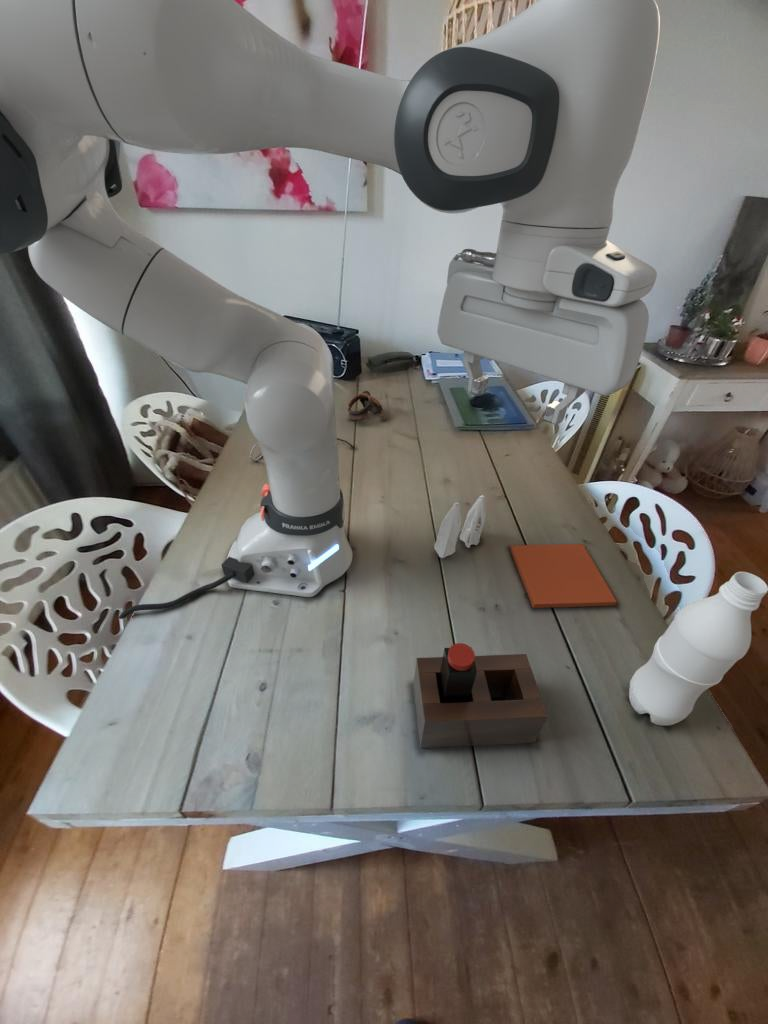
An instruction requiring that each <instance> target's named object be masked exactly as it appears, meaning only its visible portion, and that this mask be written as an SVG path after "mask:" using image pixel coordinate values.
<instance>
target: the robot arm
mask: <svg viewBox="0 0 768 1024" xmlns="http://www.w3.org/2000/svg"><path fill="white" fill-rule="evenodd" d="M660 28H661V17H660V10H659V6H658V4H657V2H656V0H536V1H535V2H533V3H532V4H531V5H530V6H528V7H527V8H525V9H524V10H523V11H521V12H520V13H518V14H516V15H515V16H514V17H512V18H511V19H509V20H508V21H506V22H505V23H503V24H501V25H500V26H498V27H496V28H494V29H493V30H489V31H488V32H486V33H484V34H482V35H480V36H477V37H475V38H472V39H470V40H467V41H465V42H462V43H460V44H457V45H454V46H451V47H449V48H447V49H444V50H442V51H440V52H438V53H437V54H435V55H433V56H432V57H431V58H429V59H428V60H427V61H426V62H425V63H424V64H423V65H422V66H421V67H420V68H419V69H418V70H417V71H416V72H415V73H414V75H413V76H412V77H411V79H410V80H406V79H405V80H404V79H398V78H394V77H392V76H388V75H384V74H381V73H376V72H373V71H369V70H366V69H362V68H359V67H355V66H351V65H348V64H345V63H341V62H338V61H334V60H330V59H327V58H324V57H321V56H318V55H316V54H313V53H311V52H309V51H308V50H305V49H303V48H301V47H299V46H298V45H296V44H294V43H292V42H291V41H289V40H288V39H286V38H285V37H283V36H282V35H280V34H279V33H277V32H276V31H274V30H273V29H272V28H270V27H269V26H267V24H265V23H264V22H263V21H261V20H260V19H258V18H257V17H256V16H255V15H253V14H252V13H251V12H250V11H249V10H247V9H246V7H243V6H242V5H241V4H240V3H239V2H237V1H236V0H0V254H1V255H2V254H4V255H5V254H9V253H14V252H18V251H20V250H23V249H25V248H27V250H28V251H27V252H28V257H29V260H30V263H31V266H32V268H33V269H34V271H35V272H36V274H37V276H38V277H39V278H40V279H41V280H42V281H43V282H44V283H45V284H46V285H48V286H49V287H51V288H52V289H53V290H54V291H55V292H56V293H58V294H59V295H61V296H62V297H63V298H65V299H66V300H67V301H69V302H70V303H72V304H73V305H74V306H75V307H77V308H79V309H80V310H81V311H83V312H85V313H86V314H87V315H89V316H90V317H92V318H93V319H95V320H97V321H98V322H100V323H102V324H103V325H104V326H107V328H109V329H111V330H113V331H115V332H116V333H118V334H119V335H122V336H124V337H125V338H127V339H129V340H131V341H132V342H135V343H136V344H138V345H139V346H141V347H142V346H143V347H144V348H145V349H147V350H149V351H151V352H153V353H154V354H156V355H158V356H159V357H162V358H164V359H166V360H167V361H169V362H171V363H173V364H174V365H176V366H178V367H180V368H181V369H184V370H186V371H189V372H192V373H196V374H198V373H199V374H200V373H201V374H203V373H207V374H213V375H218V376H222V377H225V378H227V379H232V380H234V381H238V382H241V383H243V384H245V385H246V386H245V389H244V409H245V415H246V416H245V417H246V422H247V425H248V428H249V431H250V432H251V434H252V435H253V436H254V438H255V439H256V441H257V443H258V446H259V449H260V452H261V455H262V454H263V456H262V457H263V460H264V462H265V463H264V465H265V468H266V469H265V470H266V475H267V478H268V479H267V480H268V483H265V484H263V486H262V489H261V490H262V491H261V492H260V494H261V495H260V496H261V497H262V498H261V500H260V510H259V511H258V512H256V513H254V514H253V515H251V516H250V517H248V518H247V519H246V520H245V521H244V523H243V524H242V525H241V528H240V530H239V532H238V535H237V537H236V539H235V540H234V541H233V543H232V544H231V547H230V548H229V551H228V554H227V557H226V559H225V560H224V561H223V562H222V563H221V569H222V572H223V575H224V576H223V577H221V578H219V579H218V580H216V581H213V582H211V583H208V584H205V585H203V586H201V587H198V588H196V589H194V590H191V591H190V592H188V593H185V594H184V595H182V596H180V597H178V598H176V599H174V600H171V601H168V602H167V601H166V602H162V603H143V604H135V605H132V606H130V607H127V608H126V609H124V610H123V611H122V612H121V613H120V614H119V616H118V619H119V620H122V619H125V618H126V617H127V616H129V615H130V614H132V613H134V612H140V611H153V610H156V611H157V610H166V609H169V608H173V607H176V606H178V605H181V604H183V603H184V602H186V601H188V600H190V599H192V598H194V597H197V596H198V595H200V594H202V593H204V592H206V591H209V590H212V589H215V588H217V587H219V586H221V585H223V584H225V583H228V584H227V585H229V587H230V588H233V589H240V590H247V591H248V590H249V591H256V592H263V593H272V594H281V595H287V596H288V595H289V596H296V597H302V598H303V597H304V598H313V597H315V596H316V595H317V594H318V593H320V592H321V590H322V589H323V588H324V587H326V586H327V585H328V584H330V583H333V582H335V581H336V580H338V579H339V578H340V577H342V576H343V575H344V574H345V573H346V572H347V571H348V569H349V568H350V566H351V565H352V562H353V550H352V547H351V545H350V542H349V540H348V537H347V534H346V530H345V525H344V523H345V520H346V519H345V515H346V514H345V499H344V494H343V490H342V489H341V480H340V465H339V463H340V462H339V448H338V440H337V438H338V435H337V434H338V433H337V418H336V417H337V416H336V396H335V395H336V394H335V393H336V392H335V376H334V374H335V373H334V358H333V355H332V353H331V350H330V348H329V346H328V345H327V342H326V341H325V339H324V338H323V337H322V335H321V334H320V333H319V332H318V331H316V329H314V328H313V327H311V326H309V325H307V324H304V323H301V322H296V321H293V320H291V319H290V318H287V317H286V316H283V315H281V314H280V313H278V312H275V311H273V310H271V309H269V308H267V307H264V306H262V305H261V304H258V303H256V302H253V301H251V300H249V299H247V298H245V297H243V296H241V295H239V294H237V293H236V292H234V291H232V290H230V289H228V288H227V287H225V286H223V285H222V284H221V283H218V281H215V280H214V279H213V278H211V277H210V276H208V275H206V274H205V273H203V272H202V271H200V270H199V269H197V268H196V267H194V266H193V265H191V264H189V263H188V262H186V261H184V260H183V259H182V258H181V257H178V256H177V255H176V254H174V253H172V252H171V251H169V250H168V249H166V248H165V247H164V246H161V245H160V244H158V243H157V242H155V241H154V240H153V239H151V238H149V237H147V236H146V235H145V234H143V233H141V232H140V231H138V230H136V229H135V228H134V227H132V226H131V225H129V224H128V223H127V222H126V221H125V220H124V219H123V218H122V217H121V216H120V215H119V214H118V213H117V211H116V210H115V208H114V206H113V204H112V203H111V200H110V198H113V197H115V196H117V195H118V194H120V193H121V192H122V189H123V177H122V172H121V171H122V170H121V167H120V154H121V143H123V144H126V145H130V146H133V147H138V148H142V149H147V150H151V151H156V152H163V153H170V154H179V155H180V154H181V155H203V156H204V155H225V154H235V153H244V152H251V151H252V152H253V151H259V150H268V149H269V150H270V149H282V148H283V149H286V148H289V149H290V148H291V149H292V148H294V149H306V150H314V151H319V152H323V153H327V154H332V155H335V156H339V157H343V158H348V159H352V160H355V161H360V162H364V163H369V164H373V165H377V166H381V167H383V168H387V169H389V170H391V171H393V172H395V173H397V174H399V175H401V177H402V178H403V181H404V183H405V184H406V186H407V187H408V189H409V190H410V191H411V193H412V194H413V195H414V196H415V198H417V199H418V200H419V201H420V202H421V203H422V204H424V205H425V206H426V207H428V208H430V209H432V210H434V211H436V212H439V213H445V214H451V215H452V214H455V215H456V214H463V213H464V214H465V213H467V212H470V211H473V210H476V209H478V208H481V207H487V206H492V205H493V206H494V205H497V204H500V205H501V207H502V216H501V222H500V228H499V234H498V240H497V245H496V246H497V247H496V252H492V251H479V250H476V249H473V248H464V249H463V250H461V252H459V253H456V255H454V256H453V258H452V259H451V260H450V262H449V264H448V269H447V278H446V288H445V290H444V295H443V298H442V302H441V308H440V311H439V316H438V317H439V318H438V323H437V336H438V338H439V340H440V343H441V344H442V345H444V346H447V347H449V348H453V349H455V350H459V351H462V352H463V354H462V355H463V356H462V363H463V366H464V369H465V371H466V375H467V378H468V385H467V392H468V393H469V394H473V395H475V396H479V397H481V395H485V394H486V392H487V391H488V384H489V380H490V377H489V376H486V375H484V372H483V368H482V364H481V360H483V359H488V360H491V361H494V362H497V363H500V364H503V365H507V366H509V367H513V368H516V369H518V370H522V371H525V372H529V373H531V374H534V375H537V376H541V377H543V378H547V379H550V380H553V381H556V382H560V383H563V387H562V391H561V393H562V394H563V395H566V396H565V397H564V398H563V399H562V400H561V401H558V400H554V401H552V402H551V403H548V404H547V405H546V407H545V410H544V415H543V417H542V420H543V421H544V422H546V423H549V424H552V425H554V426H558V425H560V424H561V423H562V422H563V420H564V419H565V417H566V414H567V410H568V407H569V406H571V405H572V404H573V403H574V402H575V401H576V400H577V399H579V398H580V397H581V396H582V395H583V394H585V392H586V391H588V392H591V393H594V394H597V395H600V396H602V397H603V396H604V397H608V396H611V395H613V394H615V393H617V392H619V391H620V390H622V389H623V388H625V387H626V386H627V385H629V383H630V382H631V381H632V379H633V377H634V376H635V373H636V371H637V368H638V365H639V362H640V359H641V356H642V352H643V348H644V345H645V341H646V337H647V332H648V327H649V320H650V318H649V317H650V315H649V314H650V313H649V310H648V307H647V305H646V304H645V302H644V301H643V300H642V299H643V298H644V297H645V296H647V295H648V294H649V293H650V292H651V291H652V290H653V287H654V285H655V283H656V280H657V276H658V272H657V270H656V269H655V267H653V266H652V265H651V264H649V263H647V262H645V261H643V260H641V259H639V258H638V257H636V256H634V255H632V254H630V253H629V252H627V251H625V250H623V248H620V247H619V246H617V245H615V244H614V243H612V242H610V241H609V240H608V236H609V233H610V229H611V226H612V224H613V223H612V222H613V216H614V212H613V211H614V199H615V196H616V190H617V187H618V184H619V182H620V179H621V177H622V175H623V173H624V171H626V168H627V167H628V164H629V163H630V160H631V158H632V155H633V151H634V148H635V145H636V141H637V138H638V134H639V131H640V128H641V123H642V119H643V116H644V112H645V108H646V103H647V99H648V96H649V92H650V88H651V83H652V79H653V74H654V70H655V69H654V68H655V65H656V58H657V53H658V49H659V40H660V39H659V38H660V30H661V29H660Z"/></svg>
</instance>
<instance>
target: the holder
mask: <svg viewBox="0 0 768 1024" xmlns="http://www.w3.org/2000/svg"><path fill="white" fill-rule="evenodd" d="M442 659H443V656H433V657H432V656H431V657H429V656H428V657H417V658H416V660H415V668H414V676H413V686H412V687H413V693H414V695H413V696H414V705H415V715H416V722H417V731H418V739H419V748H420V749H432V748H433V749H434V748H436V749H437V748H454V747H475V746H476V747H477V746H494V745H495V746H496V745H497V746H498V745H515V744H516V745H517V744H518V745H519V744H535V742H536V740H537V738H538V736H539V734H540V733H541V730H542V729H543V726H544V725H545V723H546V721H547V719H548V717H549V716H548V713H547V710H546V707H545V704H544V700H543V698H542V696H541V693H540V690H539V686H538V683H537V681H536V678H535V675H534V672H533V670H532V666H531V663H530V661H529V658H528V655H527V654H526V653H513V654H488V655H486V654H485V655H475V659H474V661H475V665H476V669H477V673H476V677H475V681H474V684H473V688H472V691H471V695H470V698H469V702H459V703H440V697H439V691H438V681H439V675H440V670H441V664H442ZM492 698H504V700H492Z"/></svg>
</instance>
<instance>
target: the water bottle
mask: <svg viewBox="0 0 768 1024" xmlns="http://www.w3.org/2000/svg"><path fill="white" fill-rule="evenodd" d="M767 593H768V584H767V583H766V582H765V581H764V580H763V579H762V578H761V577H760V576H758V575H755V574H753V573H750V572H747V571H737V572H735V573H734V574H733V575H732V576H731V577H730V579H729V580H728V581H725V583H723V584H721V585H720V586H719V589H718V592H717V593H716V594H713V595H711V596H707V597H704V598H701V599H697V600H693V601H692V602H690V603H688V604H686V605H684V606H683V607H681V608H680V609H679V610H678V611H677V612H676V614H675V616H674V619H673V620H672V621H671V623H670V624H669V626H668V627H667V629H666V630H665V631H664V632H663V634H662V635H661V636H660V637H659V638H658V639H657V640H656V642H655V644H654V647H653V649H652V650H653V651H652V654H651V656H650V658H649V660H648V661H646V663H645V664H643V665H642V666H640V667H638V668H637V669H636V671H635V672H634V673H633V675H632V676H631V678H630V680H629V690H628V698H629V703H630V705H631V707H632V709H633V710H634V711H635V712H636V713H637V714H639V715H644V714H648V715H649V718H650V723H652V724H655V725H657V726H672V725H675V724H678V723H680V722H681V721H683V720H685V719H686V718H687V717H688V716H689V715H690V714H691V713H692V712H693V710H694V707H695V704H696V702H697V701H698V699H699V697H701V695H702V694H703V693H704V692H705V691H707V690H708V689H710V688H711V687H714V686H716V685H718V684H719V683H720V682H721V681H722V680H723V678H724V676H725V674H727V673H728V671H729V670H730V669H731V668H733V666H734V665H735V664H736V663H737V662H738V661H740V660H741V659H743V658H744V657H745V656H746V654H747V653H748V651H749V649H750V647H751V642H752V624H751V622H752V620H751V615H752V612H753V611H757V610H758V608H759V607H760V604H761V603H762V599H763V597H765V595H766V594H767Z"/></svg>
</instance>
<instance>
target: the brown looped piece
mask: <svg viewBox="0 0 768 1024" xmlns="http://www.w3.org/2000/svg"><path fill="white" fill-rule="evenodd" d="M358 401H359V402H360V404H361V405H362V408H361V409H359V410H356V411H355V410H352V407H353V406H354V404H355V403H356V402H358ZM347 406H348V408H347V412H348V418H349V420H352V421H361V420H364V419H366V420H370V417H369V413H373V414H378V415H380V417H381V420H382V422H384V421H385V414H384V410H383V407H382V404H381V403H380V401H379V400H378V399H377V398H376V397H374V396H372V395H371V392H370V391H369V390H364V391H361V393H359V394H356V395H354V396H353V397H352V398H351V399H350V400H349V402H348V404H347Z"/></svg>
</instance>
